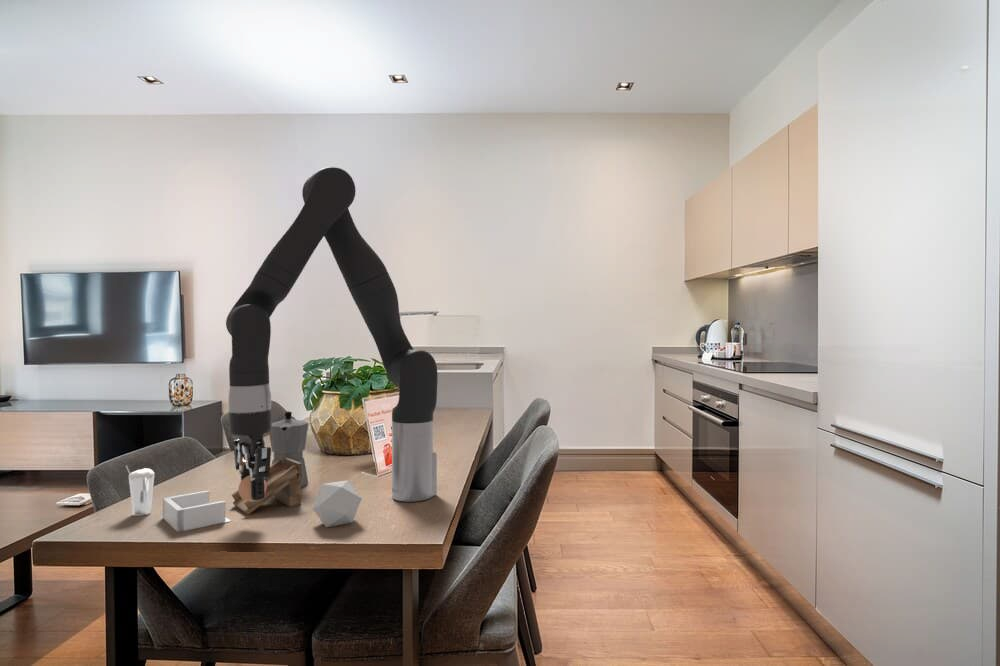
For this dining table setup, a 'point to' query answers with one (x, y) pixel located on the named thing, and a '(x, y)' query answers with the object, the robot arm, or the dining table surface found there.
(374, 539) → the dining table surface
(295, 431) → the coffeepot
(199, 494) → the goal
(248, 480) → the ball
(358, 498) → the die
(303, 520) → the dining table surface
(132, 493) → the milkshake
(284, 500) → the ramp
